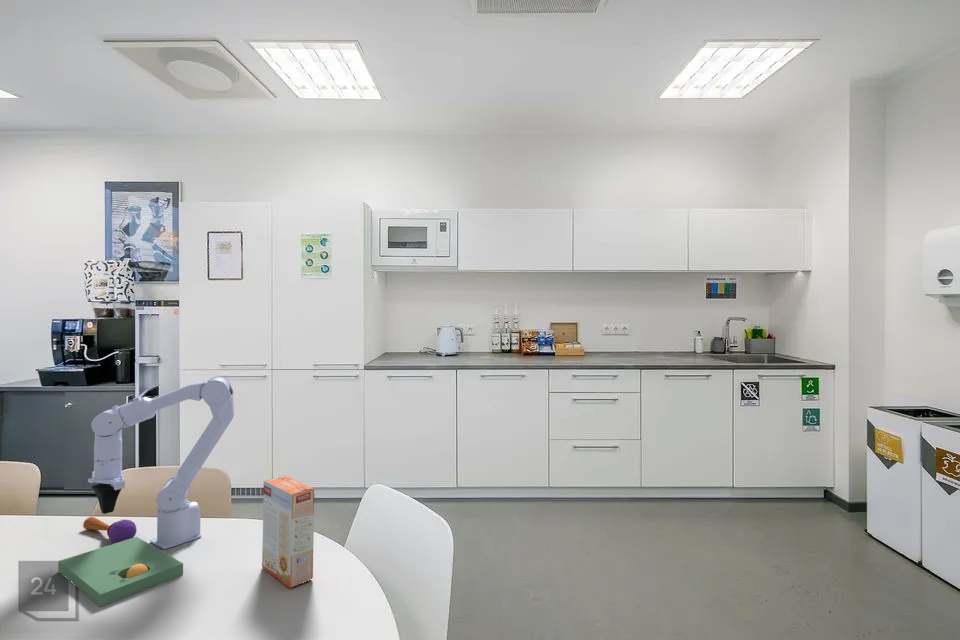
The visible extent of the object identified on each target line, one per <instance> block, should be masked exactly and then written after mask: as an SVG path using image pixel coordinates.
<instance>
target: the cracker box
mask: <svg viewBox="0 0 960 640" xmlns="http://www.w3.org/2000/svg"><path fill="white" fill-rule="evenodd" d="M262 494H263V502H262V504H263V505H262V507H263V508H262V509H263V510H262V550H261V551H262V554H261V555H262V557H261V560H262V561H261V567H262V569H263V568H264V569H263V570H264V571H266V572H267V573H269V574H270V575H271V576H273V577H274V578H275V579H276V578H277V580H278V581H279V582H280V583H282V584H283V585H285V586H286V588H288V587H289V588H288V589H292V587H293V588H295V587H294V586H296V587H298V586H300V585H299V584H301V583H303V582H305V581H308V580H310V579H312V578H313V579H314V576H313V575H314V541H315V539H314V534H315V533H314V532H315V531H314V530H315V528H314V527H315V524H314V523H315V488H313V487H311V486H310V485H309V486H308V485H307V484H304V483H302V482H300V481H298V480H295V479H294V478H291V477H290V476H287V475H282V476H278V477H274V478H270V479H266V480H263V493H262ZM308 582H309V581H308ZM303 584H304V583H303ZM297 585H298V586H297ZM301 585H302V584H301Z"/></svg>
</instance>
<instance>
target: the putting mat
mask: <svg viewBox="0 0 960 640" xmlns="http://www.w3.org/2000/svg"><path fill="white" fill-rule="evenodd" d="M57 562H58V563H57V564H58V566H57V569H58V570H57V571H59V572H61V573H62V574H63V575H64V576H66V577H67V578H68V579H69V580H70V581H72V582H73V583H74V584H75V585H76V586H77V587H78V588H79V589H80V590H79V591H81V592H82V593H83V594H84V595H85V596H86V597H88V598H89V597H90V598H91V599H90V598H89V599H90V600H91V601H93V602H94V601H95V602H96V603H97V604H96V603H95V602H94V603H95V604H96V605H97V606H98V607H100V606H101V607H104V606H105V605H108V603H109V604H111V603H114V602H115V601H116V602H117V601H118V600H121V599H124V598H126V597H129V596H131V595H134V594H137V593H139V592H142V591H145V590H146V589H150V588H151V587H154V586H157V585H160V584H162V583H164V582H167V581H169V580H172V579H174V578H177V577H180V576H183V575H184V563H183V562H181V561H179V560H178V559H176V558H174V557H173V556H171V555H169V554H167V553H166V552H164V551H162V550H161V549H159V548H157V547H156V546H154V545H151V544H150V543H149V542H147V541H145V540H144V539H142V538H140V537H138V536H134V537H133V538H131V539H128V540H124V541H121V542H118V543H115V544H114V543H112V544H109V545H106V546H102V547H98V548H96V549H93V550H90V551H86V552H84V553H80V554H77V555H74V556H71V557H68V558H67V557H66V558H63V559H61V560H58V561H57ZM136 564H144V565H145V566H146V567H147V568H148V572H146V573H144V574H141V575H138V576H135V577H133V578H126V575H127V572H128V570H129V569H130V568H131V567H132V566H134V565H136ZM59 572H58V573H59ZM63 575H62V576H63ZM64 576H63V577H64ZM69 580H68V581H69ZM70 581H69V582H70ZM75 585H74V586H75ZM76 586H75V587H76ZM77 587H76V588H77ZM78 588H77V589H78ZM103 605H104V606H103Z"/></svg>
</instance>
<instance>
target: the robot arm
mask: <svg viewBox="0 0 960 640" xmlns="http://www.w3.org/2000/svg"><path fill="white" fill-rule="evenodd" d="M202 399H203V401H204V402H205V404H206V405H208V407H209V410H210V412H211V415H212V418H211V420H210V421H209V423H208V424H207V426H206V427H205V429H204V431H203V432H202V434H201V435H200V436H199V438H198V440H197V442H196V443H195V444H194V446H193V447H192V449H191V450H190V452H189V453H188V455H187V456H186V458H185V460H184V461H183V462H182V464H181V465H180V467H179V468H178V470H177V472H175V474H174V475H173V476H172V477H171V478H169V479H168V480H166V481H165V483H164V484H163V487H162V488H161V490H160V491H159V492H158V493H157V496H156V498H155V499H156V502H155V503H156V505H157V512H156V513H157V516H156V519H157V523H156V524H157V525H156V527H157V528H156V537H154V538H151V539H150V540H149V541H150V543H152V544H154V545H155V546H157V547H159V548H160V549H163V550H168V549H170V548H173V547H176V546H179V545H182V544H186V543H187V542H190V541H193V540H196V539H199V538H202V536H203V535H202V534H201V508H200V506H199V504H198V502H196V501H190V500H189V499H188V498H187V495H188V494H189V492H190V489H191V484H193V483H192V482H193V481H194V479H195V477H196V476H197V474H198V473H199V472H200V470H201V468H202V466H204V464H205V462H206V460H207V459H208V458H209V456H210V454H211V453H212V451H213V449H215V447H216V446H217V444H218V442H219V441H220V439H221V437H222V436H223V434H224V433H225V431H226V429H227V428H228V427H229V425H230V424H231V422H232V420H233V418H234V416H235V405H234V389H233V387H232V385H231V383H230V381H229V380H228V379H227V378H226V377H223V376H214V377H212V378H210V379H208V378H207V379H203V380H199V381H195V382H192V383H189V384H186V385H185V386H184V385H183V386H182V387H180V388H177V389H175V390H172V391H169V392H168V393H165V394H162V395H159V396H158V397H156V398H151V397H147V396H142V397H140V396H137V397H134V398H132V401H130V402H127V403H124V404H121V405H120V406H119V405H113V406H112V407H111V409H107V410H105V411H103V412H101V413H99V414H98V415H95V417H94V418H93V419H92V421H91V423H90V424H91V425H90V427H91V430H92V432H93V433H94V443H93V445H94V446H93V471H92V472H91V474H92V475H91V478H88V479H87V482H88V483H89V484H93V483H97V484H94V485H91V488H92V490H93V492H94V494H95V495H96V497H97V500H98V505H99V508H100V512H101V513H102V514H103V515H106V514H109V513H113V512H114V510H115V509H116V504H117V500H118V497H119V495H120V493H121V491H122V490H123V489H125V488H126V480H125V479H124V474H123V428H129V427H132V426H134V425H137V424H140V423H142V422H144V421H146V420H150V419H153V418H155V415H156V413H157V412H158V411H159V410H162V409H165V408H167V407H171V406H173V405H175V404H176V405H177V404H178V403H182V402H184V401H187V400H193V401H197V402H201V400H202Z"/></svg>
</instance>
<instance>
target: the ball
mask: <svg viewBox="0 0 960 640" xmlns="http://www.w3.org/2000/svg"><path fill="white" fill-rule="evenodd" d="M146 572H148V568H147V567H146V566H145V565H144V564H136V565H134V566H132V567H131V568H130V569H129V570H128V572H127V575H126V578H133V577H135V576H138V575H141V574H144V573H146Z"/></svg>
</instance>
